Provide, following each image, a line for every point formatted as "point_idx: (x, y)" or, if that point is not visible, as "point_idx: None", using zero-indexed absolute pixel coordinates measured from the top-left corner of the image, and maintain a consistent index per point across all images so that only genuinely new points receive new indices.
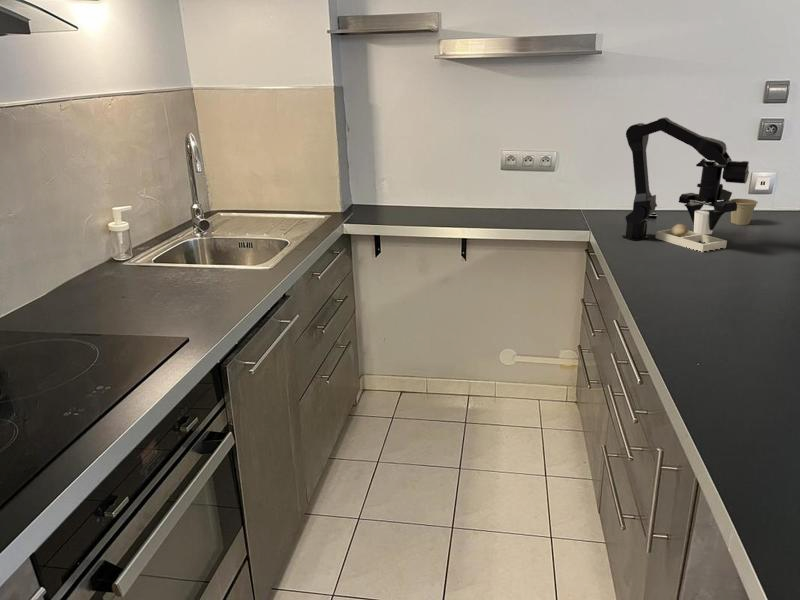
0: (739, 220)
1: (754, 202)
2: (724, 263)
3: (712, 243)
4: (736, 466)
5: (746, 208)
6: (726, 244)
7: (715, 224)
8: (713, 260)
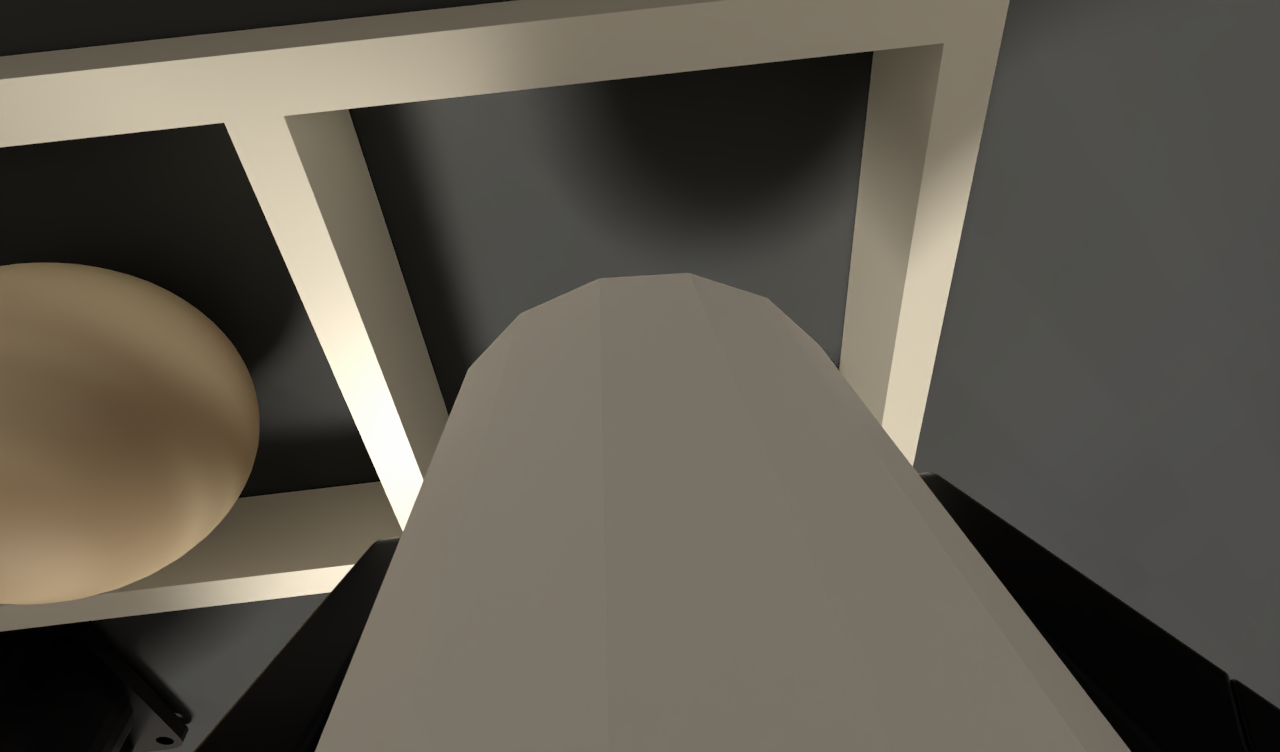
0: None
1: None
2: (1253, 491)
3: (929, 373)
4: None
5: None
6: None
7: (1066, 583)
8: (1119, 515)
